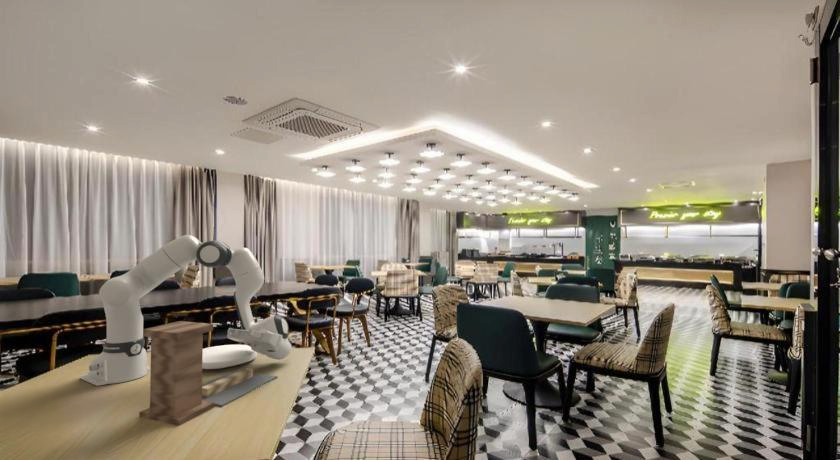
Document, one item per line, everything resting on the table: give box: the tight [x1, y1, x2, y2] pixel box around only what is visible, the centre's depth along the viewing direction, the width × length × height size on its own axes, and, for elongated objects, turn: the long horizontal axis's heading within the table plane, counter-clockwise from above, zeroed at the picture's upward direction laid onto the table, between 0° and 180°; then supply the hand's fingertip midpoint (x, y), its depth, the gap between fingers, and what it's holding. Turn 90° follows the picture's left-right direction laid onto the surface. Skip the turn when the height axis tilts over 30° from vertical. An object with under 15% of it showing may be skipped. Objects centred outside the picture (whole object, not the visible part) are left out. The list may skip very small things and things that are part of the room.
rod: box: [202, 367, 254, 398], centre depth 133 cm, size 20×3×3 cm, turn 161°
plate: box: [202, 344, 258, 370], centre depth 160 cm, size 28×6×27 cm
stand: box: [138, 320, 215, 426], centre depth 115 cm, size 16×12×26 cm
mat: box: [202, 369, 279, 408], centre depth 134 cm, size 20×26×1 cm
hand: (239, 331), depth 138 cm, fingers open, 8 cm apart
